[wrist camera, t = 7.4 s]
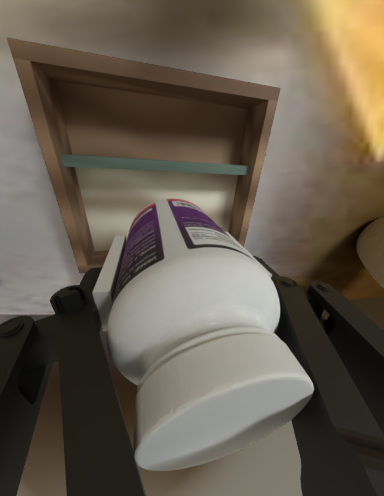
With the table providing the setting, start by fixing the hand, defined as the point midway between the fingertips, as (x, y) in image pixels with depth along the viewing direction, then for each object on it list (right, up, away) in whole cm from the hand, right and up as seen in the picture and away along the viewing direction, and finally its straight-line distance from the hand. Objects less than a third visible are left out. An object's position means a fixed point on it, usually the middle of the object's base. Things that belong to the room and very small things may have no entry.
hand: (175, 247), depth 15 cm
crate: (-2, +8, +8) cm, 12 cm away
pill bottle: (-1, +1, +3) cm, 3 cm away
